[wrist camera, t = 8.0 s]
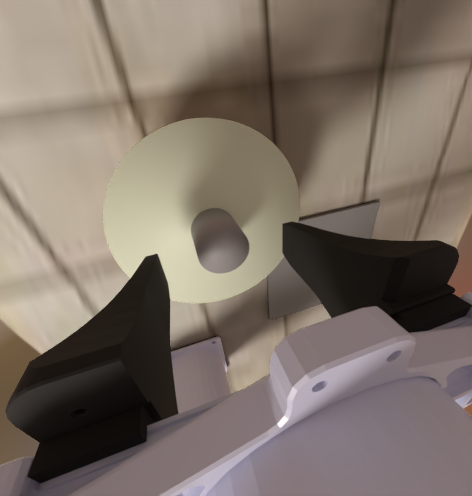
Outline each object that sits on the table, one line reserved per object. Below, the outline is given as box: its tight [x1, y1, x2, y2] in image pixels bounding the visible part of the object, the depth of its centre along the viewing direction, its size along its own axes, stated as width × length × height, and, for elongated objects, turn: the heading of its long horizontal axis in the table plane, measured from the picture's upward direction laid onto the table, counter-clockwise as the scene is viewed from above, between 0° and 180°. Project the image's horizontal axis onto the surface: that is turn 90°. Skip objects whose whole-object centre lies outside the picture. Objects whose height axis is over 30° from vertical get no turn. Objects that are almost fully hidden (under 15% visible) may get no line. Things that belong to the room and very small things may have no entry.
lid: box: [103, 118, 300, 303], centre depth 14 cm, size 13×13×4 cm
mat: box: [267, 201, 380, 320], centre depth 28 cm, size 14×14×1 cm
